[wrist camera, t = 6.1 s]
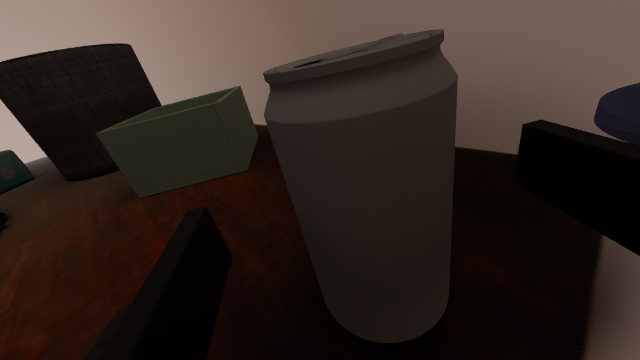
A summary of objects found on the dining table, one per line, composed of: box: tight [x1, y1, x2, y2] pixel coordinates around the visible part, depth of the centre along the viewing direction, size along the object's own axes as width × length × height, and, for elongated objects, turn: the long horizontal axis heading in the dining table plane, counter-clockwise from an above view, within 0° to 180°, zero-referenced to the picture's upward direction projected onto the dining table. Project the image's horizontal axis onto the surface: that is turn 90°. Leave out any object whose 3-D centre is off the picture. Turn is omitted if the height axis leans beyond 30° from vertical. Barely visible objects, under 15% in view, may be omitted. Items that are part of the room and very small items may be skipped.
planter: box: [0, 44, 162, 180], centre depth 51 cm, size 22×22×20 cm
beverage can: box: [263, 30, 458, 343], centre depth 11 cm, size 6×6×12 cm
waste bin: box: [96, 86, 258, 198], centre depth 37 cm, size 15×15×9 cm
